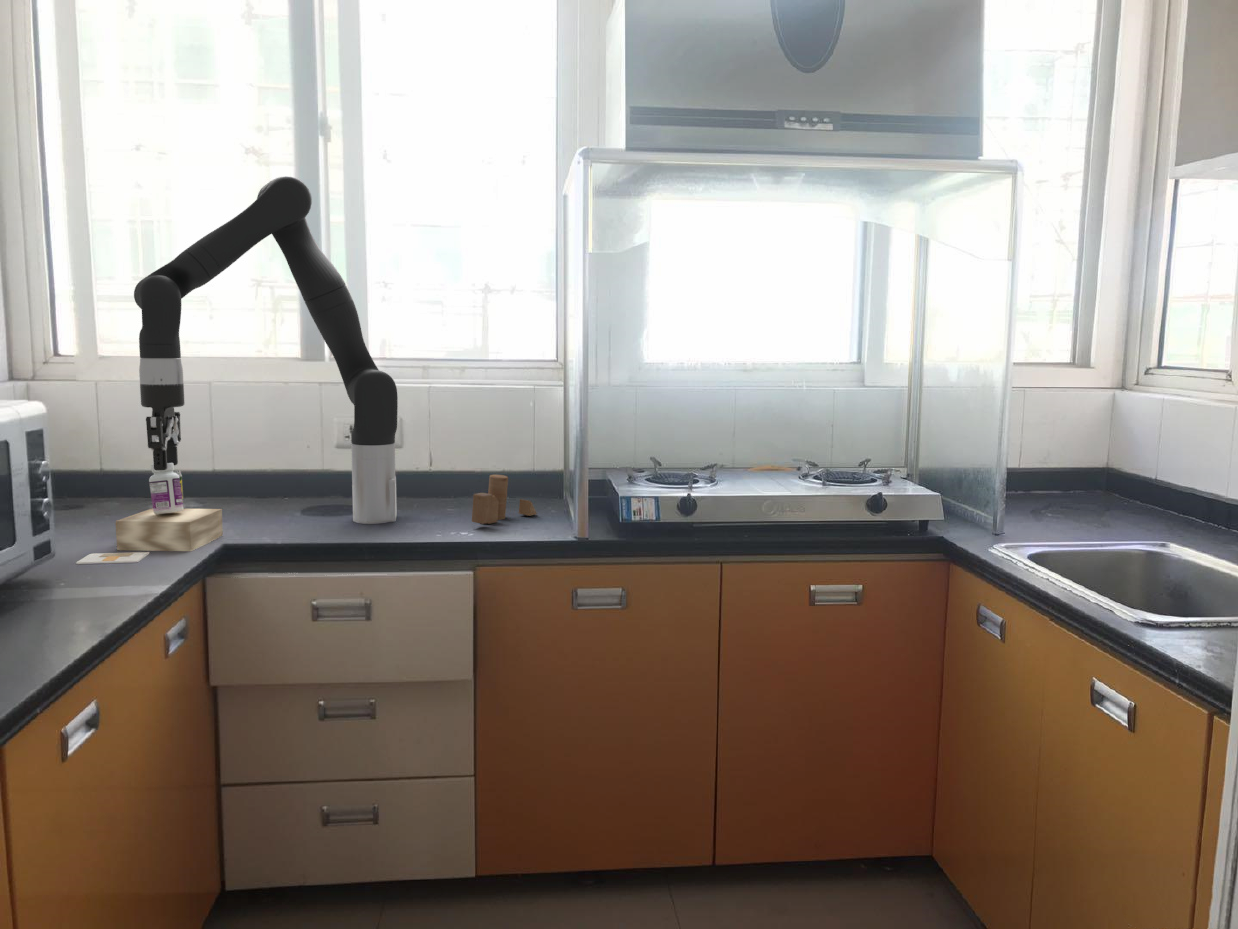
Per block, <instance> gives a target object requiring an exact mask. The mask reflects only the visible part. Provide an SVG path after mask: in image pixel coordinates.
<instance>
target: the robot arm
mask: <svg viewBox="0 0 1238 929" xmlns="http://www.w3.org/2000/svg"><path fill="white" fill-rule="evenodd" d="M312 203H313V197H312V194H311V191H310V189H309V188H308V186H307V185H306V184H305V182H303V181H302V180H300V179H298V178H296V177H293V176H278V177H275V178H274V179H272V180H270V181H268V183H266V184H265V185H263V186H262V187H261V188H260V189H259V191H258V194H257V197H256V200H254V201H253V202H252V203H251V204H250V205H248V207H246V208H245V209H244V210H243V211H242V212H240V213H238V215H236V216H234V217H233V218H232V219H230V220H228V221H227V222H226V223H224V224H222V225H221V226H219V227H218V228H215V229H214V230H212V231H211V232H208V234H205V235H204V236H203V237H202V238H200V239H199V240H197V241H195V242H194V243H192V244H191V245H190V246H188V247H187V248H186V249H185V250H183V251H182V252H180V253H179V254H178V255H177V256H176V257H174V258H173V259H172V260H171V261H169V262H168V263H166V264H164V265H163V266H160V268H158V269H156V270H154V271H153V272H152V273H150V274H148V275H146V276H145V277H143V278H142V279H140V281H139V282H138V283H137V284H136V286H135V287H134V289H133V290H134V291H133V298H134V302H135V303H136V305H137V306H138V308H140V309H141V324H142V326H141V329H140V331H139V334H138V335H139V338H138V342H139V344H138V346H139V348H138V349H139V367H138V370H139V371H138V372H139V376H138V377H139V391H140V393H139V394H140V406H142V407H143V408H151V409H152V410H151V416H146V417H145V422H146V424H145V425H146V438H147V448H148V449H150V450H151V451H152V456H153V460H152V461H153V462H152V463H153V465H154V469H155V470H166V469H167V463H173V464H174V466H178V464H179V458H178V447H179V444H180V442H181V441H182V438H181V434H182V433H181V431H182V430H181V412H180V411H175V408H180V407H184V406H185V388H184V386H185V385H184V383H185V382H184V370H183V365H182V359H181V358H182V356H181V355H182V353H181V351H182V350H181V339H180V327H181V320H182V319H181V318H182V317H181V316H182V299H183V298H185V297H186V296H187V295H188V294H190V293H191V292H193V291H194V290H196V289H198V288H200V287H203V286H205V285H206V284H207V283H209V282H211V281H212V280H213V279H214V278H215V277H217V276H219V275H220V274H221V273H223V272H224V271H225V270H226V269H228V268H230V266H232V265H233V264H234V263H235V262H237V261H238V260H239V259H240V258H241V257H242V256H244V255H245V254H246V253H248V252H249V251H250V250H251V249H252V248H253V247H255V246H256V245H258V243H260V242H261V241H263V240H264V239H265V238H267V237H269V236H270V235H272V237H273V238H274V240H275V242H276V243H277V244H278V247H279V249H280V251H281V252H282V254H283V256H284V258H285V261H286V262H287V265H288V267H289V269H290V272H291V275H292V277H293V279H294V281H295V283H296V285H297V287H298V290H299V292H300V294H301V296H302V299H303V302H304V304H305V306H306V307H307V310H308V312H309V314H310V316H311V318H312V320H313V322H314V324H315V325H316V327H317V330H318V332H319V333H320V335H321V336H322V339H323V340H324V342H325V344H326V345H327V348H328V350H329V351H330V352H331V355H332V357H333V358H334V361H335V363H336V365H337V368H338V371H339V374H340V376H341V379H342V382H343V385H344V389H345V391H346V393H347V397H348V399H349V401H350V402H351V404H352V405H353V406H354V410H353V411H354V412H353V413H354V414H353V417H354V419H353V420H354V421H353V427H352V430H351V433H350V435H351V436H350V438H351V440H350V443H351V444H350V445H351V446H350V447H351V449H350V450H351V482H352V483H351V487H352V488H351V491H352V521H353V522H354V523H357V524H364V525H373V524H374V525H376V524H377V525H378V524H387V523H391V522H392V523H393V522H396V521H397V514H398V513H397V476H396V433H397V430H398V410H399V409H398V403H399V402H398V400H399V399H398V397H399V396H398V388H397V385H396V382H395V380H394V379H393V378H392V376H391V375H390V374H389V373H387V372H384V371H383V370H380V369H379V368H378V366H377V365H376V363H375V361H374V359H373V358H372V356H371V353H370V352H369V350H368V348H367V346H366V343H365V339H364V336H363V331H362V328H361V322H360V317H359V313H358V310H357V308H356V304H355V302H354V300H353V297H352V295H351V293H350V291H349V287H347V285H346V282H345V281H344V279H343V277H342V275H341V273H340V272H339V270H338V269H337V268H336V267H335V266H334V264H333V263H332V261H331V260H329V258H328V257H327V256H326V254H325V253H324V251H322V250H321V248H320V247H319V245H318V243H317V242H316V240H315V238H314V236H313V234H312V232H311V229H310V226H309V224H308V222H307V219H306V217H307V216H308V215H309V213H310V210H311V208H312Z"/></svg>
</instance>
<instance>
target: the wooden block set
mask: <svg viewBox="0 0 1238 929" xmlns="http://www.w3.org/2000/svg"><path fill="white" fill-rule="evenodd" d="M508 485H509V476H507V475H504V474H490V475H489V479H488V490H487V491H488V493H487V492H478V493H474V494H473V496H472V497H473V498H472V511H471V522H472V523H476V524H480V525H485V524H488V525H490V524H491V525H492V524H495V523H498V521H499V520H505V519H506V512H507V498H508V487H509V486H508ZM518 505H519V508H518V514H520V515H523V516H524V515H525V516H529V517H530V516H534V515H536V516H537V515H538V514H537V510H536V509H535V507H534V505H533V503H532V500H531V501H530V500H526V499H522V498H519V504H518Z"/></svg>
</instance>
